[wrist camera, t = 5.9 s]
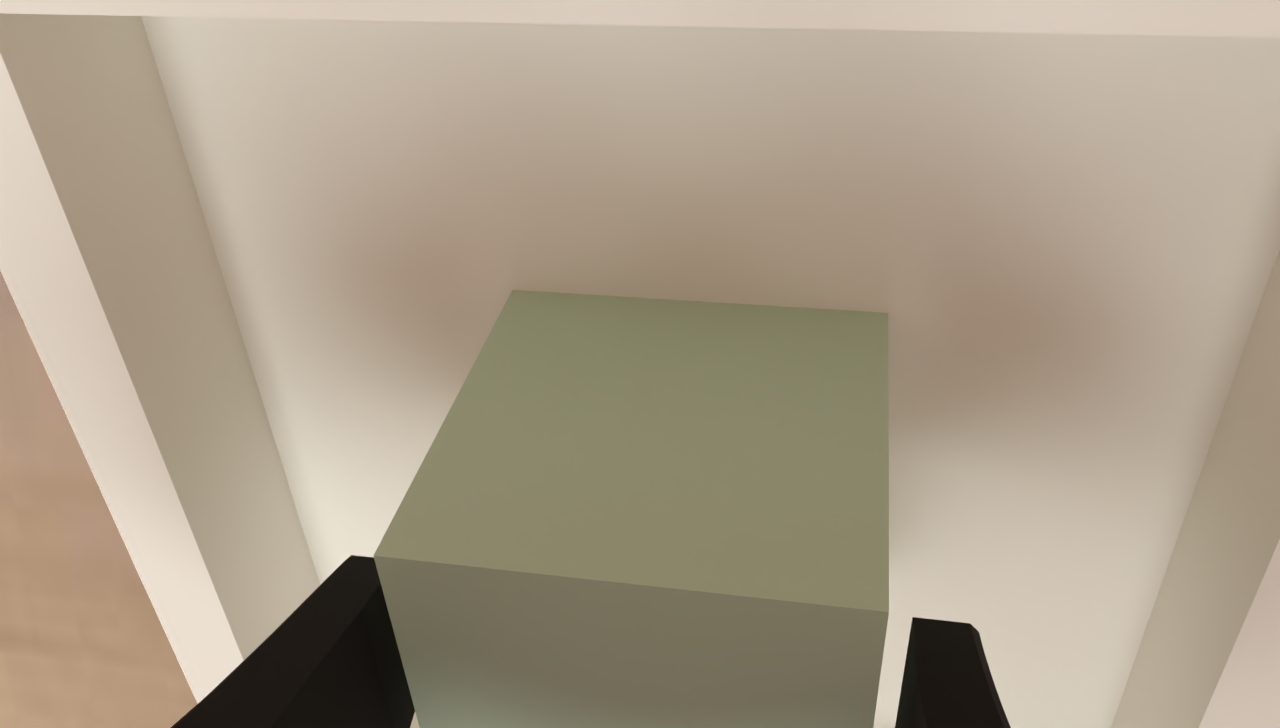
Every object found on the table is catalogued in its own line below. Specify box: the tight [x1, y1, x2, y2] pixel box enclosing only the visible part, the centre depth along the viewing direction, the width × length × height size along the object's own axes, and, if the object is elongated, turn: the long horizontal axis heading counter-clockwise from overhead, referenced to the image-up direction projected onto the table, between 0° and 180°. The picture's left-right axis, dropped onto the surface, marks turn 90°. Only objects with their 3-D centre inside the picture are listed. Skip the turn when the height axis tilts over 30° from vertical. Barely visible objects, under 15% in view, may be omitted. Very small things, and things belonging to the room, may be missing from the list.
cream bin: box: [0, 0, 1280, 728], centre depth 15 cm, size 16×16×3 cm
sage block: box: [373, 290, 889, 728], centre depth 14 cm, size 5×5×5 cm
